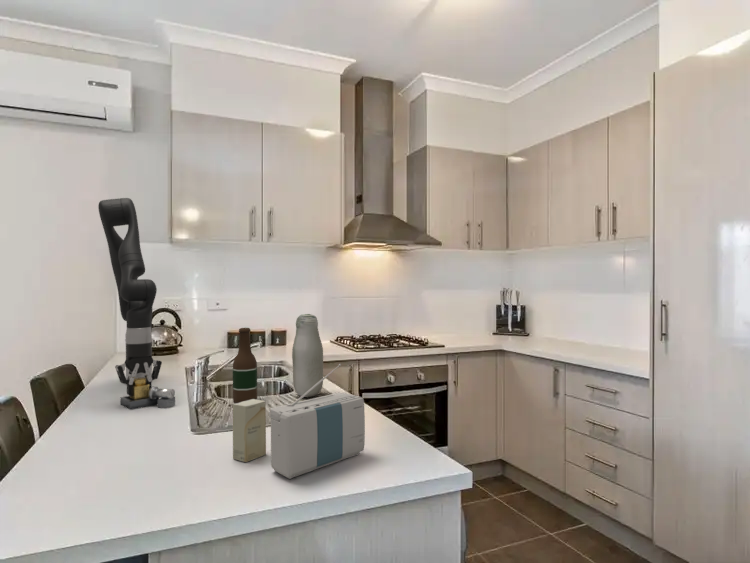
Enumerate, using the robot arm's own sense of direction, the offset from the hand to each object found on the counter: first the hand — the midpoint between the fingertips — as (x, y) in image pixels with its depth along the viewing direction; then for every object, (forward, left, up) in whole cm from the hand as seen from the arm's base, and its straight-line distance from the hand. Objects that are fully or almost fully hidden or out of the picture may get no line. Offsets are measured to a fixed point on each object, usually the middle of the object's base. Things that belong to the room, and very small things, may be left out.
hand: (139, 394), depth 154 cm
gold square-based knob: (0, 0, -1) cm, 1 cm away
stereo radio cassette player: (+81, +7, -4) cm, 82 cm away
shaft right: (+7, +4, -3) cm, 9 cm away
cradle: (0, 0, -3) cm, 3 cm away
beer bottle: (+22, +25, -3) cm, 34 cm away
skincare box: (+67, -1, -3) cm, 67 cm away
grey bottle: (+32, +43, -3) cm, 54 cm away
